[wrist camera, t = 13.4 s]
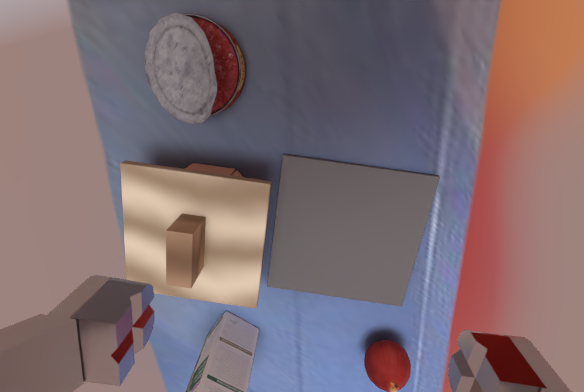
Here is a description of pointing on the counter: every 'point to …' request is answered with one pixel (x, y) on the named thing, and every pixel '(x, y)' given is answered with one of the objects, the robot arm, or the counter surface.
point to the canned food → (193, 66)
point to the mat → (348, 229)
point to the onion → (387, 365)
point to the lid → (194, 232)
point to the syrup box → (226, 357)
